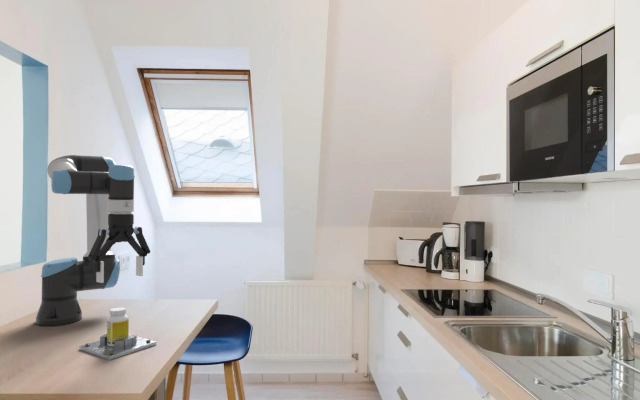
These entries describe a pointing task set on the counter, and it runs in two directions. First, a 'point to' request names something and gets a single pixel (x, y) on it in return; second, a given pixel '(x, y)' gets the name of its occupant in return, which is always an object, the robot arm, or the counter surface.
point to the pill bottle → (117, 325)
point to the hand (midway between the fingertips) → (120, 278)
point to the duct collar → (117, 346)
